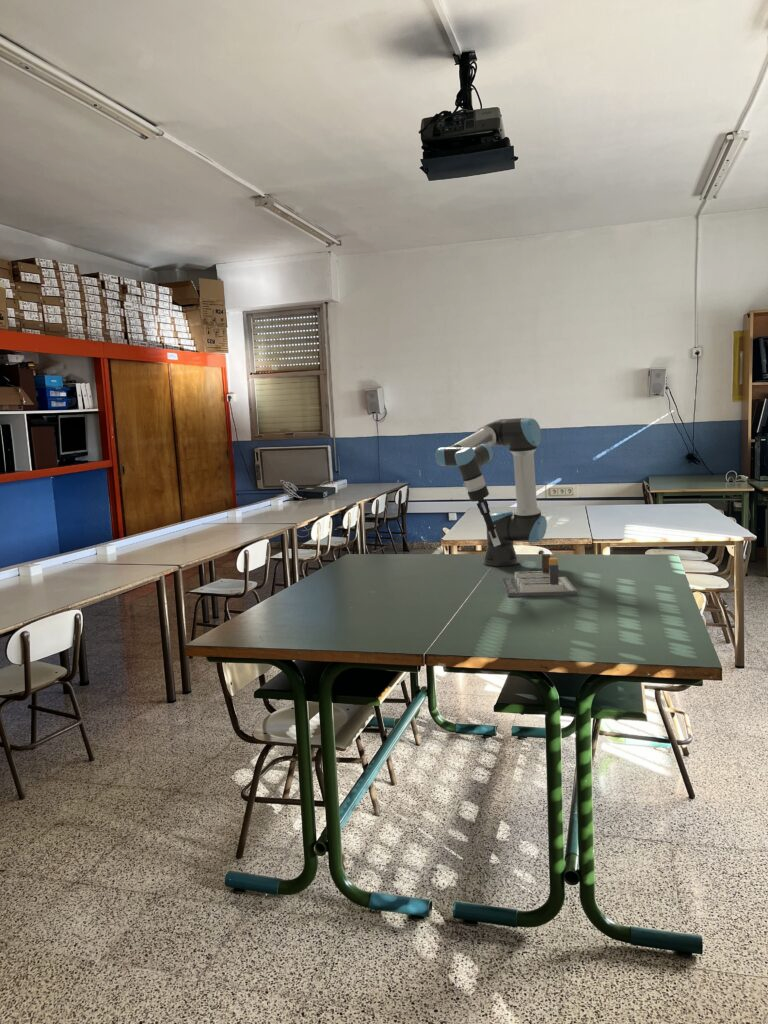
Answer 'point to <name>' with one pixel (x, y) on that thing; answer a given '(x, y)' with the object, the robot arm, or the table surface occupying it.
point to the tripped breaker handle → (553, 561)
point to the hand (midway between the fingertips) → (497, 545)
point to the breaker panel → (539, 582)
